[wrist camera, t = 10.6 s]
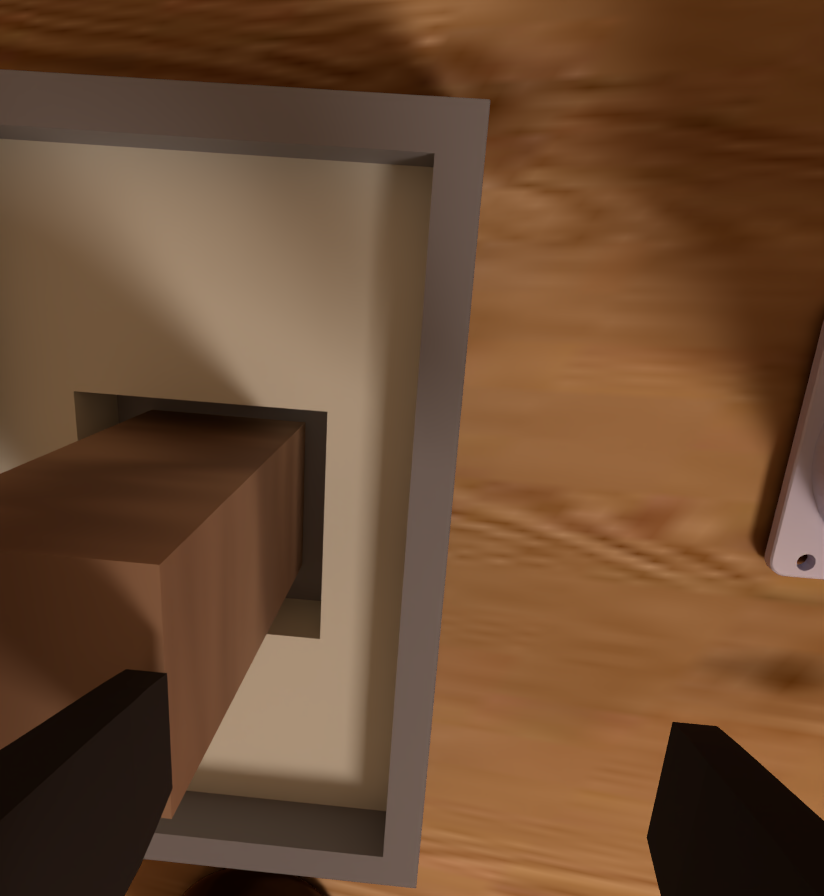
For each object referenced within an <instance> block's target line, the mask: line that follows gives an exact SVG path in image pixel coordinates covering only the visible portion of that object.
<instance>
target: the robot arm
mask: <svg viewBox="0 0 824 896" xmlns="http://www.w3.org/2000/svg"><path fill="white" fill-rule="evenodd" d="M806 554H807V556H808V557H807V559H806V561H805V562H803V563H802V564H798V565H797V560H798V559H799V557H801V556H802V555H806ZM765 562H766V564H767V566H768V567H769V568H771V569H772V570H773V571H774V572H775V573H777V574H779V575H782V576H791V577H803V578H814V579H824V321H823V325H822V329H821V333H820V337H819V341H818V345H817V349H816V353H815V357H814V361H813V364H812V368H811V372H810V376H809V380H808V384H807V388H806V392H805V396H804V400H803V404H802V408H801V412H800V416H799V420H798V424H797V428H796V432H795V436H794V440H793V444H792V448H791V452H790V456H789V460H788V464H787V468H786V472H785V476H784V480H783V484H782V488H781V492H780V496H779V500H778V504H777V508H776V512H775V516H774V520H773V524H772V528H771V532H770V536H769V540H768V544H767V548H766V552H765ZM172 789H173V785H172V764H171V743H170V722H169V700H168V679H167V673H161V672H151V671H141V670H130V669H125V670H124V671H122V672H120V673H119V674H117V675H115V676H114V677H112V678H110V679H109V680H107V681H105V682H104V683H102V684H101V685H99V686H98V687H96V688H95V689H93V690H91V691H90V692H88V693H87V694H85V695H84V696H82V697H81V698H79V699H78V700H76V701H75V702H73V703H72V704H70V705H68V706H67V707H65V708H64V709H62V710H61V711H59V712H58V713H56V714H55V715H53V716H52V717H50V718H49V719H47V720H46V721H44V722H43V723H41V724H40V725H38V726H36V727H35V728H33V729H32V730H30V731H29V732H27V733H26V734H24V735H23V736H21V737H19V738H18V739H16V740H15V741H13V742H12V743H10V744H9V745H7V746H5V747H4V748H2V749H1V750H0V896H124V895H125V893H126V892H127V890H128V888H129V886H130V884H131V882H132V880H133V879H134V877H135V875H136V873H137V871H138V869H139V867H140V865H141V863H142V861H143V858H144V856H145V854H146V851H147V849H148V847H149V844H150V842H151V840H152V838H153V835H154V833H155V831H156V828H157V826H158V823H159V821H160V818H161V816H162V813H163V811H164V808H165V806H166V804H167V801H168V799H169V796H170V794H171V791H172ZM647 840H648V845H649V849H650V853H651V857H652V861H653V865H654V870H655V874H656V878H657V882H658V886H659V890H660V894H661V896H824V821H823V820H822V819H821V818H820V817H819V816H818V815H817V814H815V813H814V812H813V811H812V810H811V809H810V808H809V807H808V806H807V805H805V804H804V803H803V802H802V801H801V800H800V799H799V798H798V797H797V796H796V795H794V794H793V793H792V792H791V791H790V790H789V789H788V788H787V787H786V786H784V785H783V784H782V783H781V782H780V781H779V780H778V779H777V778H776V777H774V776H773V775H772V774H771V773H770V772H769V771H768V770H767V769H766V768H765V767H763V766H762V765H761V764H760V763H759V762H758V761H757V760H756V759H755V758H753V757H752V756H751V755H750V754H749V753H748V752H747V751H746V750H744V749H743V748H742V747H741V746H740V745H739V744H738V743H736V742H735V741H734V740H733V739H732V738H731V737H729V736H728V735H727V734H726V733H725V732H723V731H722V730H721V729H720V728H719V727H717V726H709V725H699V724H689V723H678V722H673V723H672V727H671V732H670V736H669V741H668V745H667V749H666V754H665V758H664V763H663V767H662V772H661V776H660V781H659V785H658V790H657V794H656V799H655V803H654V807H653V812H652V816H651V821H650V825H649V830H648V834H647Z"/></svg>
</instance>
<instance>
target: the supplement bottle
mask: <svg viewBox="0 0 824 896" xmlns="http://www.w3.org/2000/svg"><path fill="white" fill-rule="evenodd" d="M182 896H323V895H322V894H321V893H320V892H319V891H318V890H316V889H315V888H314V887H313V886H311V885H310V884H309V883H307V882H305V881H304V880H302V879H300V878H298V877H296V876H294V875H288V874H278V873H269V872H260V871H250V870H241V869H232V868H227V869H223V870H220V871H217V872H214V873H212V874H210V875H208V876H206V877H204V878H202V879H201V880H199V881H198V882H196V883H195V884H194V885H192V886H191V887H190V888H189V889H188V890H187V891H186V892H185V893H184V894H183V895H182Z"/></svg>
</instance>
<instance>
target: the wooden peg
mask: <svg viewBox="0 0 824 896" xmlns="http://www.w3.org/2000/svg"><path fill="white" fill-rule="evenodd" d="M304 465H305V422H295V421H283V420H271V419H259V418H247V417H234V416H222V415H210V414H198V413H186V412H173V411H161V410H150V411H147V412H145V413H143V414H140V415H138V416H135V417H133V418H131V419H128V420H126V421H124V422H121V423H119V424H117V425H114V426H112V427H109V428H107V429H105V430H102V431H100V432H98V433H95V434H93V435H91V436H88V437H86V438H83V439H81V440H79V441H76V442H74V443H72V444H69V445H67V446H64V447H62V448H60V449H57V450H55V451H53V452H50V453H48V454H46V455H43V456H41V457H38V458H36V459H34V460H31V461H29V462H27V463H24V464H22V465H20V466H17V467H15V468H12V469H10V470H8V471H5V472H3V473H1V474H0V750H1V749H2V748H4V747H5V746H7V745H9V744H10V743H12V742H13V741H15V740H16V739H18V738H19V737H21V736H23V735H24V734H26V733H27V732H29V731H30V730H32V729H33V728H35V727H36V726H38V725H40V724H41V723H43V722H44V721H46V720H47V719H49V718H50V717H52V716H53V715H55V714H56V713H58V712H59V711H61V710H62V709H64V708H65V707H67V706H68V705H70V704H72V703H73V702H75V701H76V700H78V699H79V698H81V697H82V696H84V695H85V694H87V693H88V692H90V691H91V690H93V689H95V688H96V687H98V686H99V685H101V684H102V683H104V682H105V681H107V680H109V679H110V678H112V677H114V676H115V675H117V674H119V673H120V672H122V671H124V670H125V669H130V670H141V671H151V672H161V673H167V679H168V700H169V722H170V743H171V764H172V785H173V789H172V791H171V794H170V796H169V799H168V801H167V804H166V806H165V808H164V811H163V813H162V816H161V818H167V819H172V817H173V815H174V814H175V812H176V810H177V808H178V806H179V804H180V802H181V800H182V798H183V796H184V794H185V792H186V790H187V788H188V786H189V784H190V782H191V780H192V778H193V777H194V775H195V773H196V771H197V769H198V767H199V765H200V763H201V761H202V759H203V757H204V755H205V753H206V751H207V749H208V747H209V745H210V743H211V741H212V740H213V738H214V736H215V734H216V732H217V730H218V728H219V726H220V724H221V722H222V720H223V718H224V716H225V714H226V712H227V710H228V708H229V706H230V704H231V703H232V701H233V699H234V697H235V695H236V693H237V691H238V689H239V687H240V685H241V683H242V681H243V679H244V677H245V675H246V673H247V671H248V669H249V667H250V666H251V664H252V662H253V660H254V658H255V656H256V654H257V652H258V650H259V648H260V646H261V644H262V642H263V640H264V638H265V636H266V634H267V632H268V630H269V629H270V627H271V625H272V623H273V621H274V619H275V617H276V615H277V613H278V611H279V609H280V607H281V605H282V603H283V601H284V599H285V597H286V595H287V593H288V592H289V590H290V588H291V586H292V584H293V582H294V580H295V578H296V576H297V574H298V572H299V570H300V568H301V566H302V552H303V508H304Z"/></svg>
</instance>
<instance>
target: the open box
mask: <svg viewBox="0 0 824 896" xmlns="http://www.w3.org/2000/svg"><path fill="white" fill-rule="evenodd" d="M489 108H490V100H488V99H472V98H456V97H439V96H423V95H407V94H391V93H375V92H359V91H342V90H326V89H310V88H294V87H278V86H262V85H245V84H229V83H213V82H197V81H181V80H165V79H148V78H132V77H116V76H100V75H84V74H67V73H51V72H35V71H19V70H3V69H0V474H1V473H3V472H5V471H8V470H10V469H12V468H15V467H17V466H20V465H22V464H24V463H27V462H29V461H31V460H34V459H36V458H38V457H41V456H43V455H46V454H48V453H50V452H53V451H55V450H57V449H60V448H62V447H64V446H67V445H69V444H72V443H74V442H76V441H79V440H81V439H83V438H86V437H88V436H91V435H93V434H95V433H98V432H100V431H102V430H105V429H107V428H109V427H112V426H114V425H117V424H119V423H121V422H124V421H126V420H128V419H131V418H133V417H135V416H138V415H140V414H143V413H145V412H147V411H150V410H161V411H173V412H186V413H198V414H210V415H222V416H234V417H247V418H259V419H271V420H283V421H295V422H305V465H304V508H303V552H302V566H301V568H300V570H299V572H298V574H297V576H296V578H295V580H294V582H293V584H292V586H291V588H290V590H289V592H288V593H287V595H286V597H285V599H284V601H283V603H282V605H281V607H280V609H279V611H278V613H277V615H276V617H275V619H274V621H273V623H272V625H271V627H270V629H269V630H268V632H267V634H266V636H265V638H264V640H263V642H262V644H261V646H260V648H259V650H258V652H257V654H256V656H255V658H254V660H253V662H252V664H251V666H250V667H249V669H248V671H247V673H246V675H245V677H244V679H243V681H242V683H241V685H240V687H239V689H238V691H237V693H236V695H235V697H234V699H233V701H232V703H231V704H230V706H229V708H228V710H227V712H226V714H225V716H224V718H223V720H222V722H221V724H220V726H219V728H218V730H217V732H216V734H215V736H214V738H213V740H212V741H211V743H210V745H209V747H208V749H207V751H206V753H205V755H204V757H203V759H202V761H201V763H200V765H199V767H198V769H197V771H196V773H195V775H194V777H193V778H192V780H191V782H190V784H189V786H188V788H187V790H186V792H185V794H184V796H183V798H182V800H181V802H180V804H179V806H178V808H177V810H176V812H175V814H174V815H173V817H172V819H167V818H160V821H159V823H158V826H157V828H156V831H155V833H154V835H153V838H152V840H151V842H150V844H149V847H148V849H147V851H146V854H145V856H144V858H143V859H148V860H158V861H167V862H176V863H186V864H195V865H204V866H213V867H223V868H232V869H241V870H250V871H260V872H269V873H278V874H288V875H297V876H306V877H315V878H325V879H334V880H343V881H352V882H362V883H371V884H380V885H390V886H399V887H408V888H416V884H417V873H418V863H419V852H420V841H421V831H422V820H423V809H424V799H425V788H426V778H427V767H428V756H429V746H430V735H431V725H432V714H433V703H434V693H435V682H436V671H437V661H438V650H439V640H440V629H441V618H442V608H443V597H444V586H445V576H446V565H447V555H448V544H449V533H450V523H451V512H452V501H453V491H454V480H455V470H456V459H457V448H458V438H459V427H460V416H461V406H462V395H463V385H464V374H465V363H466V353H467V342H468V332H469V321H470V310H471V300H472V289H473V278H474V268H475V257H476V247H477V236H478V225H479V215H480V204H481V193H482V183H483V172H484V162H485V151H486V140H487V130H488V119H489Z"/></svg>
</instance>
